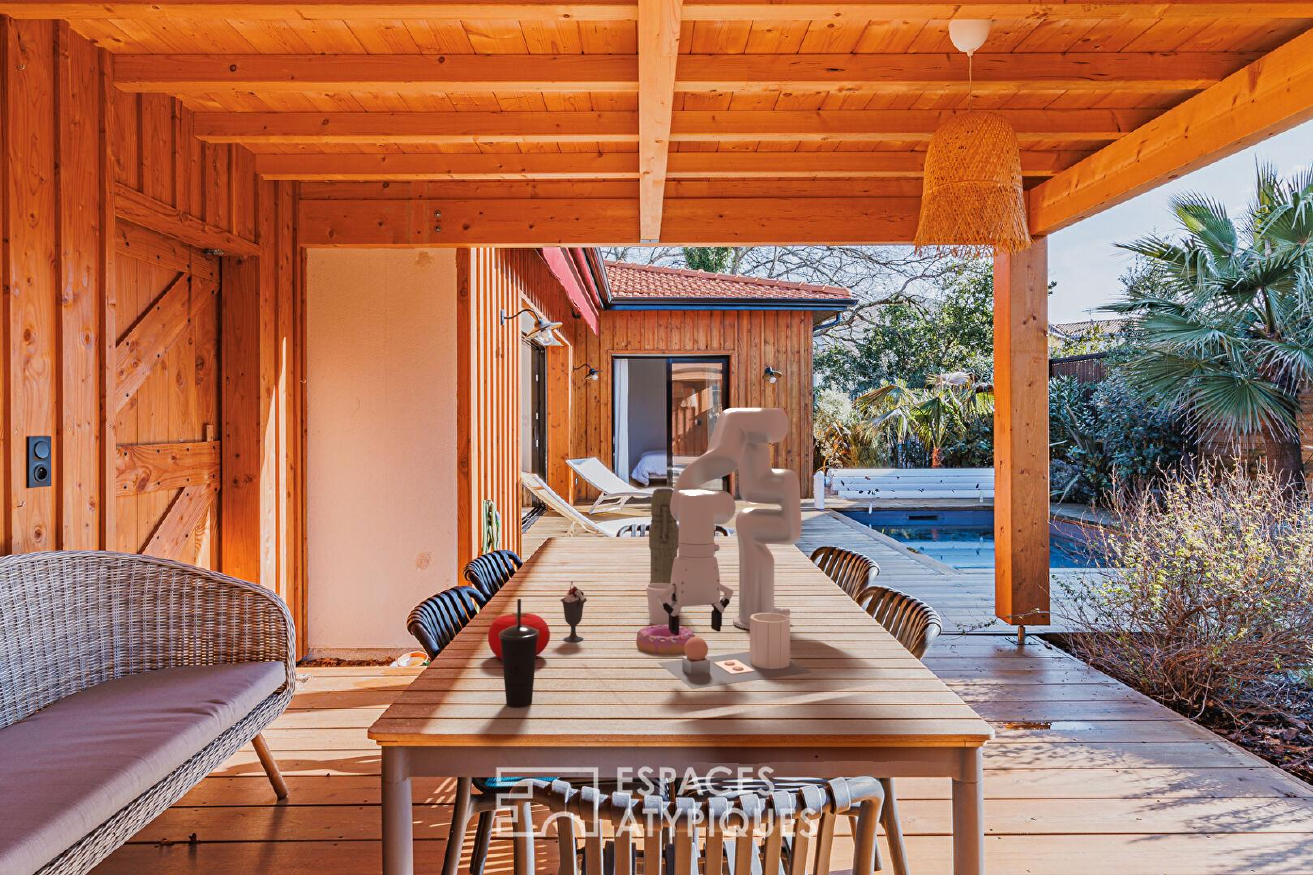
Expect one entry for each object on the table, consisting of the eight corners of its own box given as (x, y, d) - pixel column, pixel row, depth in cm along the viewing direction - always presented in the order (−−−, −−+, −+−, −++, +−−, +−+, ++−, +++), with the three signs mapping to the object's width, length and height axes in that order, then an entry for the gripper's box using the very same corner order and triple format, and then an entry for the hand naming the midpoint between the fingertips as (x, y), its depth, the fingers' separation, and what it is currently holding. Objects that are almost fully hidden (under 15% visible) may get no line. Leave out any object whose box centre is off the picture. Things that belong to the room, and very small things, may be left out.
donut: (652, 640, 192) (652, 620, 192) (705, 647, 186) (705, 626, 186) (625, 655, 179) (625, 633, 179) (680, 663, 173) (680, 641, 173)
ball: (701, 656, 165) (701, 633, 165) (712, 662, 161) (712, 639, 161) (680, 658, 163) (680, 635, 163) (690, 665, 159) (690, 641, 159)
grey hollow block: (700, 667, 165) (701, 654, 165) (710, 673, 161) (710, 659, 161) (682, 670, 163) (682, 656, 163) (691, 676, 159) (691, 662, 159)
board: (768, 654, 179) (768, 647, 179) (812, 677, 162) (812, 670, 162) (658, 668, 169) (658, 661, 168) (692, 694, 152) (692, 686, 152)
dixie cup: (663, 627, 203) (663, 590, 203) (639, 622, 208) (639, 586, 208) (682, 621, 210) (682, 585, 210) (657, 616, 215) (657, 581, 215)
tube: (776, 654, 175) (776, 611, 175) (797, 666, 166) (797, 620, 166) (742, 659, 171) (743, 614, 171) (763, 670, 163) (763, 624, 163)
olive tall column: (674, 601, 234) (675, 487, 234) (681, 610, 222) (682, 490, 222) (646, 602, 233) (646, 487, 232) (651, 611, 221) (652, 490, 221)
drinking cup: (501, 696, 150) (501, 595, 150) (540, 695, 151) (540, 594, 151) (496, 710, 143) (496, 604, 142) (537, 709, 143) (537, 603, 143)
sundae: (565, 644, 187) (565, 583, 187) (556, 638, 193) (556, 578, 192) (590, 641, 190) (590, 581, 190) (580, 634, 196) (580, 576, 196)
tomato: (475, 662, 173) (475, 616, 172) (506, 647, 184) (506, 604, 184) (530, 669, 167) (530, 622, 167) (559, 653, 179) (559, 609, 179)
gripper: (724, 547, 168) (723, 624, 168) (651, 550, 162) (650, 631, 162) (740, 551, 161) (740, 632, 161) (665, 555, 155) (664, 639, 155)
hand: (695, 632), depth 162 cm, fingers open, 9 cm apart
